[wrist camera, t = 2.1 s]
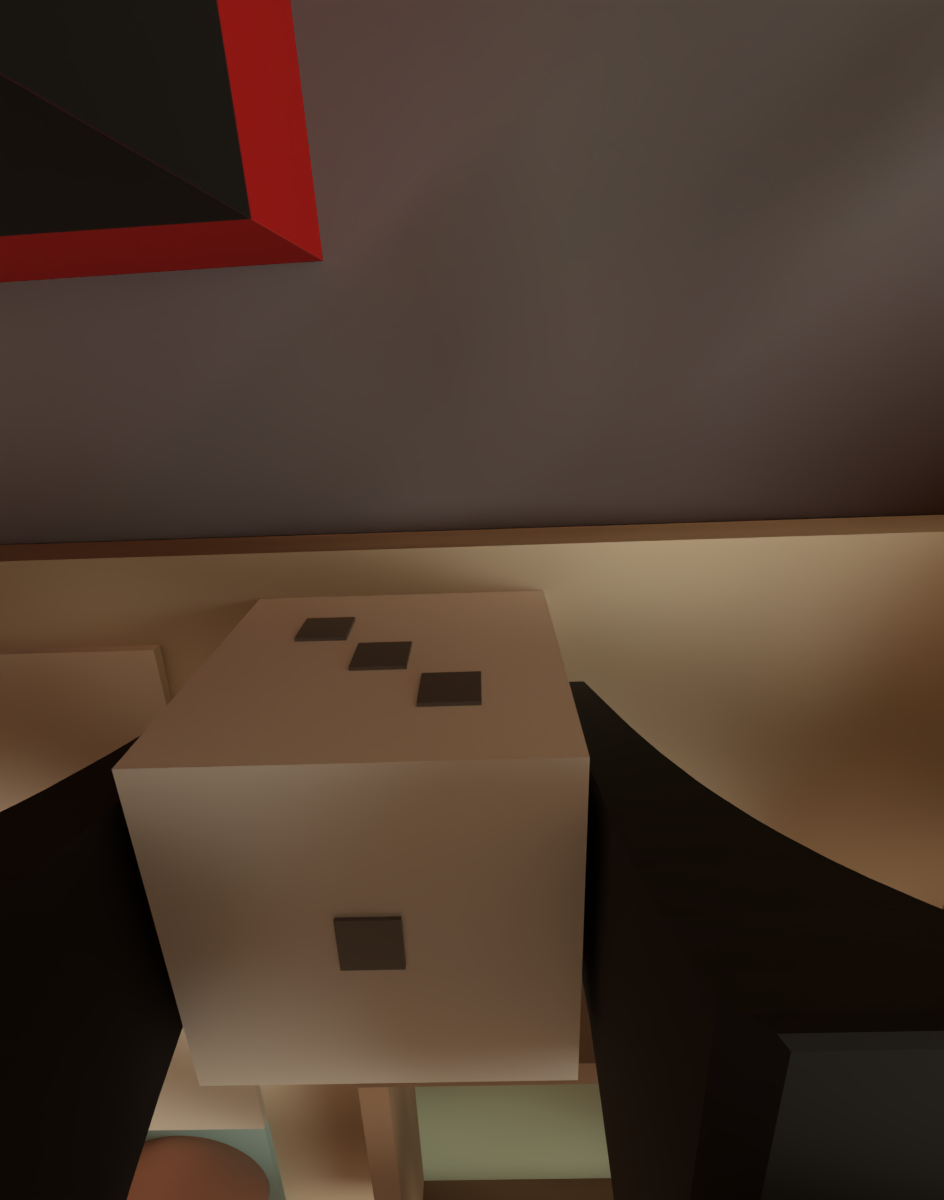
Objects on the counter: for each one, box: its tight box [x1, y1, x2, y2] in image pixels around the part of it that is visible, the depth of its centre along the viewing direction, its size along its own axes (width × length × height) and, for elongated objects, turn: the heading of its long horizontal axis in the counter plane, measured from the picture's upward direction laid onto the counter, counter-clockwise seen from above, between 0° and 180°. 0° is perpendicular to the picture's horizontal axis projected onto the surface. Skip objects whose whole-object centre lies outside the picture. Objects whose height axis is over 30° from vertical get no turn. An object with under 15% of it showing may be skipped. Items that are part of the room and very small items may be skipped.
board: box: [0, 515, 944, 1200], centre depth 12 cm, size 18×22×4 cm
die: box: [112, 590, 590, 1086], centre depth 9 cm, size 4×5×5 cm
